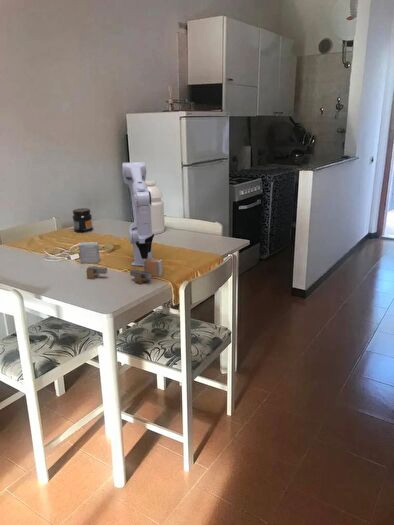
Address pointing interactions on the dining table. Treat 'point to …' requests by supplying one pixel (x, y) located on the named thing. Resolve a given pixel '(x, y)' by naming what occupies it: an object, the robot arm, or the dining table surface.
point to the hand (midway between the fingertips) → (146, 255)
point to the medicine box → (89, 252)
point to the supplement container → (82, 220)
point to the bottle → (156, 208)
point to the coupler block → (153, 266)
